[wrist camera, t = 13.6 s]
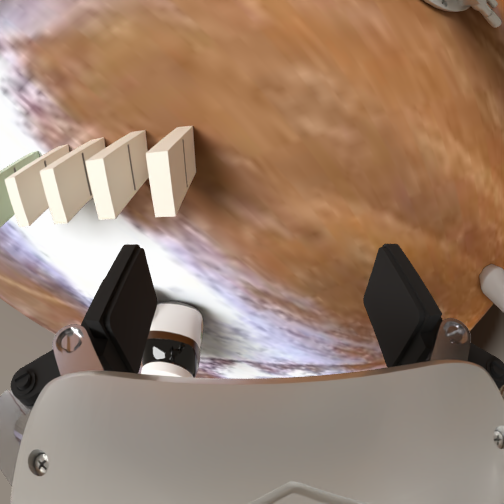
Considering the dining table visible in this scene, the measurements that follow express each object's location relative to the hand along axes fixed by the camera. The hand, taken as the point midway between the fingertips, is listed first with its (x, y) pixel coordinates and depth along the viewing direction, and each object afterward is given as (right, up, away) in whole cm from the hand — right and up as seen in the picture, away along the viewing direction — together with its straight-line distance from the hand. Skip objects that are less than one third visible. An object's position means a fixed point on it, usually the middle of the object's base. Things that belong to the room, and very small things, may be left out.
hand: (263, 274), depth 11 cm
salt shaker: (+42, -3, +28) cm, 50 cm away
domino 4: (-7, +11, +16) cm, 21 cm away
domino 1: (-22, +11, +16) cm, 29 cm away
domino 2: (-17, +11, +16) cm, 26 cm away
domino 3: (-12, +11, +16) cm, 23 cm away
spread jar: (-13, -8, +30) cm, 33 cm away
